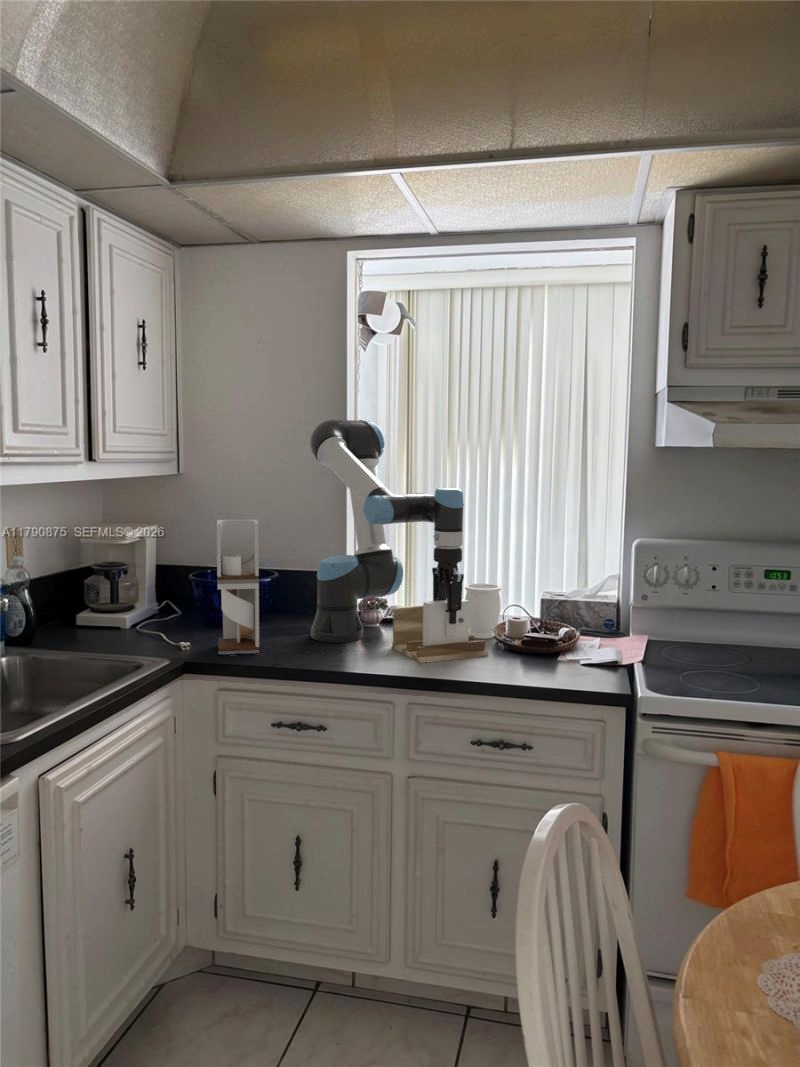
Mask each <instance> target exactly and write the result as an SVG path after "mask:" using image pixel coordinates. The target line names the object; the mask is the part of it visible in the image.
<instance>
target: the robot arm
mask: <svg viewBox="0 0 800 1067" xmlns="http://www.w3.org/2000/svg"><path fill="white" fill-rule="evenodd" d="M309 442H310V443H309V444H310V450H311V453H312V455H313V456H314V458H315V459H316V460H317V461H318V462H319V463H320V464H321V465H322V466H325V467H328V468H329V469H330V470H331V472H333V473H334V475H336V477H338V479H340V480H341V482H342V483H343V484H344V485H345V486H346V487H347V488H348V489H349V494H350V499H351V500H350V501H351V507H352V515H353V521H354V522H353V524H354V528H355V529H354V530H355V536H356V545H357V549H356V551H355V553H354V554H353V555H351V554H345V555H344V554H343V555H334V556H330V557H326V558H323V559H322V560H320V561H319V563H318V565H317V573H316V578H317V580H316V584H317V585H316V586H317V589H316V590H317V592H316V593H317V597H316V598H317V599H316V600H317V602H316V604H317V606H316V607H317V609H316V610H317V611H316V613H315V617H314V620H313V623H312V626H311V631H310V635H311V636H310V637H311V638H312V639H313V640H315V641H318V642H324V643H349V642H354V641H355V642H356V641H358V640H361V639H362V638H363V637H364V627H363V625H362V621H361V618H360V615H359V611H358V600H359V599H361V600H362V599H371V598H377V597H379V598H382V597H385V596H389V595H390V596H391V595H393V594H395V593H396V592H397V591H398V590H399V589H400V587H401V585H402V583H403V580H404V579H403V578H404V568H403V563H402V562H401V561H400V559H399V557H397V556H396V555H395V556H394V555H393V550H392V548H391V547H389V546H388V545H387V542H386V541H387V540H386V534H385V527H384V525H389V524H401V523H402V524H403V523H425V522H426V523H434V527H433V530H434V531H433V532H434V535H433V537H432V538H433V539H434V540H433V544H434V546H435V547H434V548H433V561H434V562H436V563H437V565H436V566H437V567H432V569H431V571H432V592H433V593H432V601H441V600H447V606H448V610H445V611H446V634H445V635H446V636H452V635H456V612H457V611H458V610H461V606H462V599H463V581H464V577H465V575H464V573H460V572H459V567H458V564H459V563H461V562H462V560H463V549H462V546H463V532H464V530H463V527H464V526H463V525H464V524H463V523H464V507H465V504H464V494H463V491H462V490H461V489H460V488H450V487H449V488H445V487H444V488H436V489H435V491H434V494H427V493H424V492H423V493H422V492H420V493H419V492H418V493H417V492H416V493H411V494H394V493H392V492H391V490H389V489H388V488H387V487H386V486H385V485H384V484H383V482H381V481H380V480H379V479H378V478H377V472H376V467H377V466H378V465H379V463H380V457H381V456H382V455H383V453H384V451H385V450H384V449H385V438H384V433H383V432H382V430H381V428H380V427H379V425H378V424H376V423H375V422H372V421H366V420H362V419H357V420H355V419H354V420H351V419H350V420H347V419H346V420H345V419H326V420H324V421H322V422H321V423H319V424H318V425H317V426H316V427H315V428H314V430H313V431H312V433H311V435H310V439H309Z"/></svg>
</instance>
